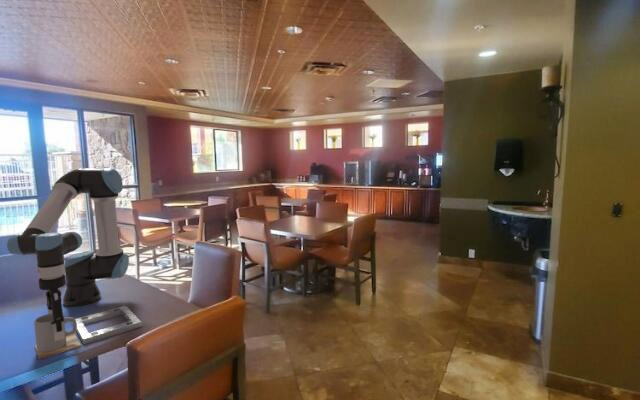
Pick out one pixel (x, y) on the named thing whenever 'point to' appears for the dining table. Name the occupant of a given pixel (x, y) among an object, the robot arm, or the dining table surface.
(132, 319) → the grey square frame
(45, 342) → the mug
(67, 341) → the coaster
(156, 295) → the dining table surface
